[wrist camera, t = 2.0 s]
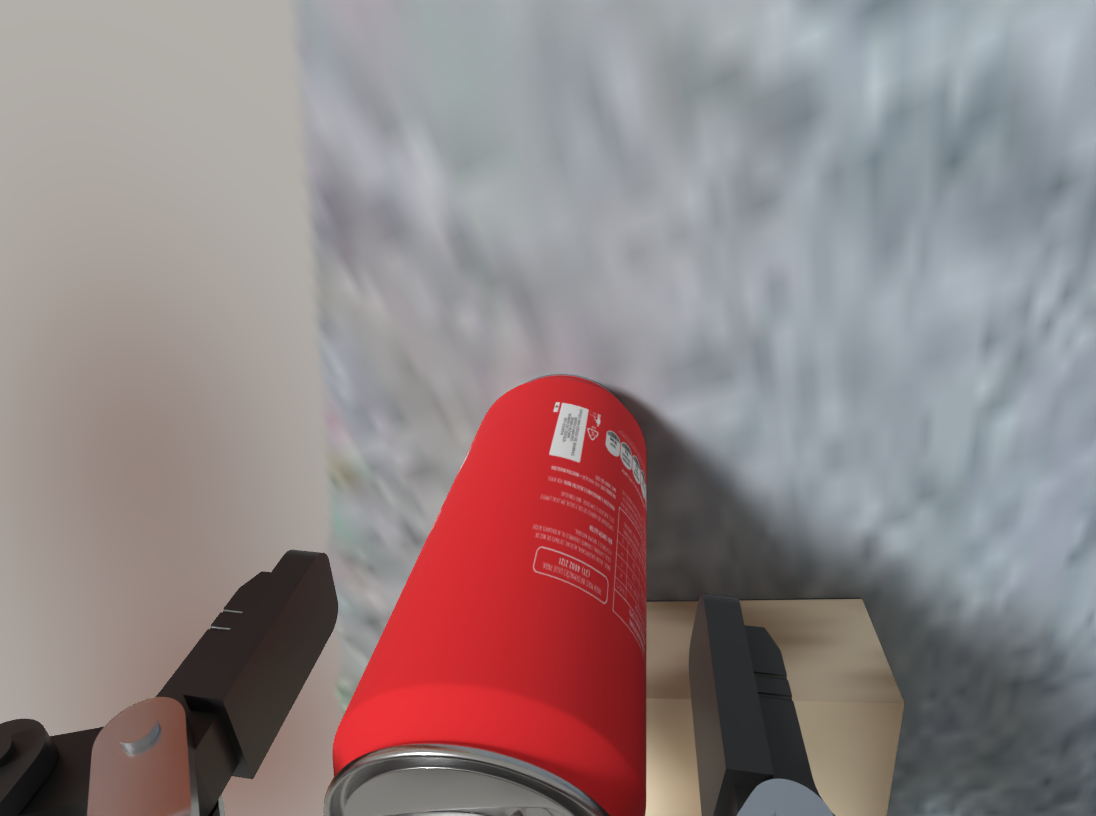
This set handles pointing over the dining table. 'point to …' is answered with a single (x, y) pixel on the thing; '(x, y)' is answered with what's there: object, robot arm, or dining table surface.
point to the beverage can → (516, 629)
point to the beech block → (817, 691)
